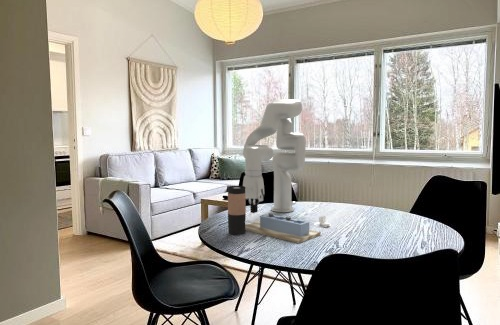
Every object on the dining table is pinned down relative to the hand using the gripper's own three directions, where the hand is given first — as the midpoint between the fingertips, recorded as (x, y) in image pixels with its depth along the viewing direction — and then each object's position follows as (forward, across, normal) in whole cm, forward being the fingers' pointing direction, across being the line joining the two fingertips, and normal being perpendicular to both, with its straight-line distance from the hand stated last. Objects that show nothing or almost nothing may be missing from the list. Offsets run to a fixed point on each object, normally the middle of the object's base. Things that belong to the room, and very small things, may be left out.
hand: (254, 212), depth 179 cm
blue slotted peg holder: (+4, +19, -2) cm, 20 cm away
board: (+6, +16, -2) cm, 18 cm away
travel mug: (+6, +4, -16) cm, 18 cm away
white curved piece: (+7, +23, +18) cm, 31 cm away
